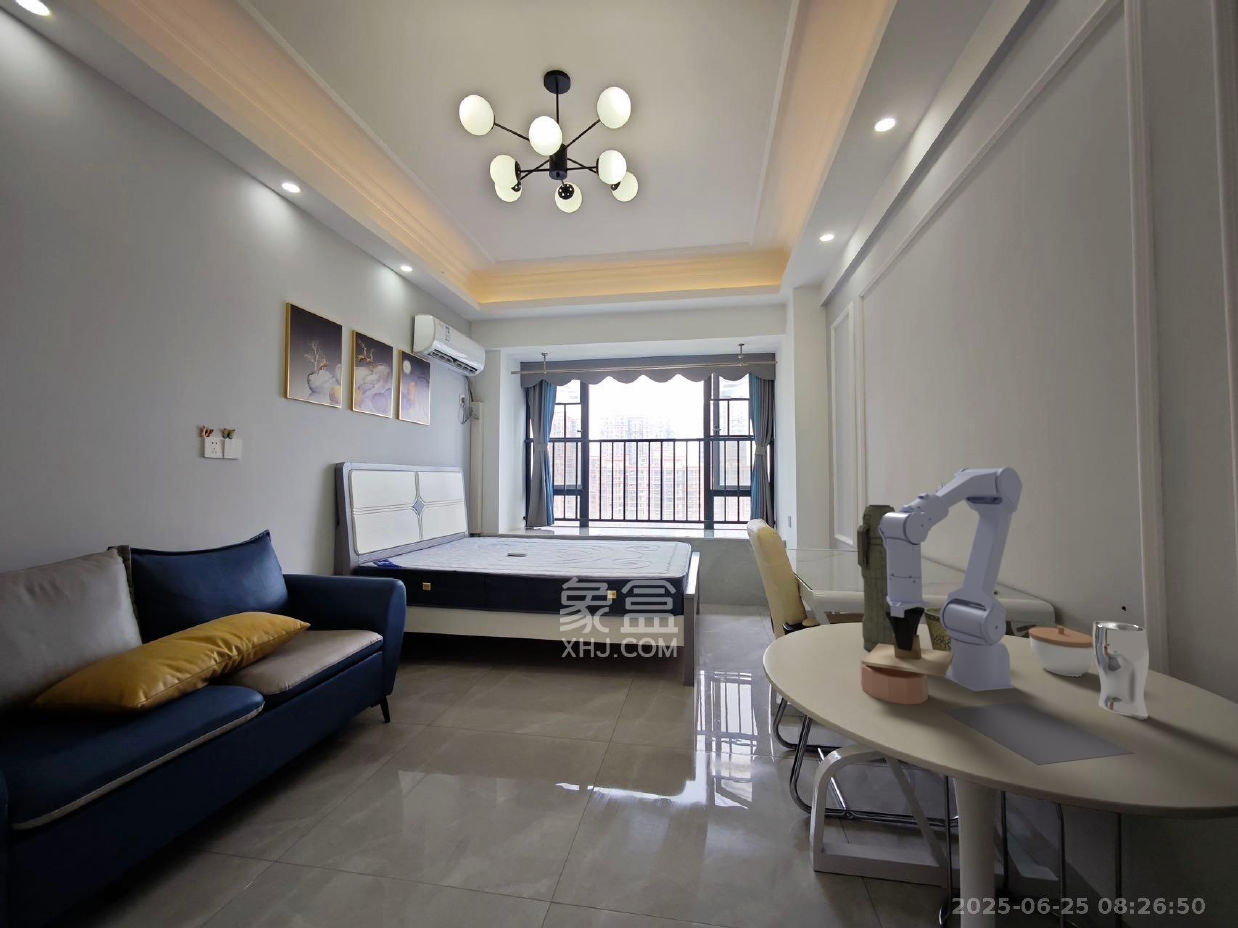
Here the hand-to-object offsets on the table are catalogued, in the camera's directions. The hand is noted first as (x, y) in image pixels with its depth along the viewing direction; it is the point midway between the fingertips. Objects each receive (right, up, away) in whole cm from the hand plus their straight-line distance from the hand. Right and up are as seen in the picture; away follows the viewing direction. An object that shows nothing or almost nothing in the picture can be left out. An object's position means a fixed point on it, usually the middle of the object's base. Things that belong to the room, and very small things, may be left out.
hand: (906, 647), depth 93 cm
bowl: (-2, -9, +2) cm, 10 cm away
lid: (0, -2, 0) cm, 2 cm away
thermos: (+10, -11, +26) cm, 29 cm away
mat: (+12, -9, -13) cm, 20 cm away
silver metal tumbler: (+34, -9, -7) cm, 36 cm away
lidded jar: (+40, -10, +12) cm, 43 cm away
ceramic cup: (+24, -10, +22) cm, 34 cm away
